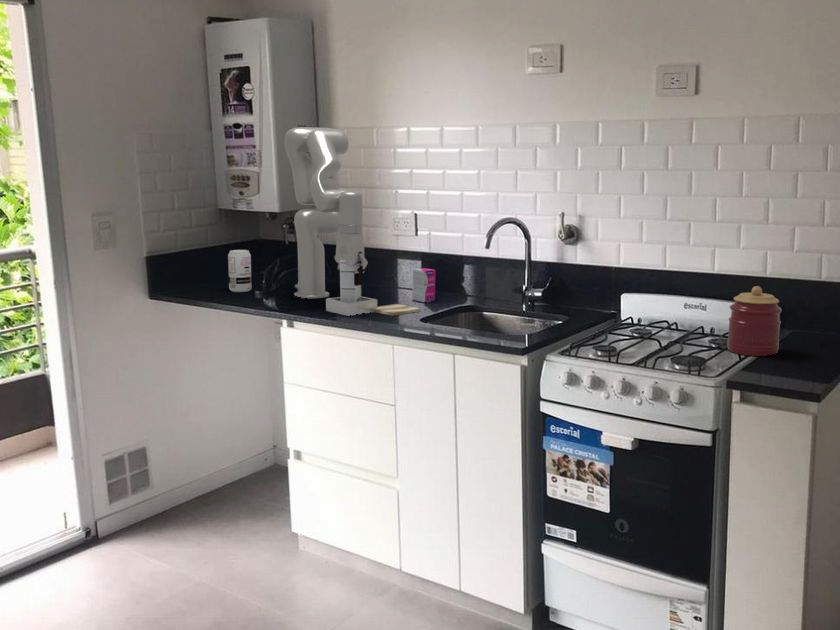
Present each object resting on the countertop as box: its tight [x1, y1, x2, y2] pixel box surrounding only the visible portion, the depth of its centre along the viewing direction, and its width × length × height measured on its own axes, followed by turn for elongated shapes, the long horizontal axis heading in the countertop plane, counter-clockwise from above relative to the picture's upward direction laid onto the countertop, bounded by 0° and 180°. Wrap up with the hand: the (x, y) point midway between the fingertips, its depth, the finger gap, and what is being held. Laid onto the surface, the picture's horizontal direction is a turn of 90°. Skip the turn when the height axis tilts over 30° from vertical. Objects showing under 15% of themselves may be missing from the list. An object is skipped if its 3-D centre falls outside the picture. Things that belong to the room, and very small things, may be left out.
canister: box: [726, 285, 783, 357], centre depth 235 cm, size 13×13×18 cm
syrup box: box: [339, 260, 362, 303], centre depth 291 cm, size 6×6×14 cm
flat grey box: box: [325, 295, 378, 317], centre depth 295 cm, size 19×12×4 cm, turn 41°
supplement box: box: [412, 267, 437, 304], centre depth 311 cm, size 6×6×12 cm
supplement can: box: [227, 249, 253, 293], centre depth 332 cm, size 8×8×15 cm
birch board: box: [374, 303, 421, 317], centre depth 293 cm, size 12×12×1 cm
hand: (350, 283), depth 291 cm, fingers closed on syrup box, 7 cm apart
